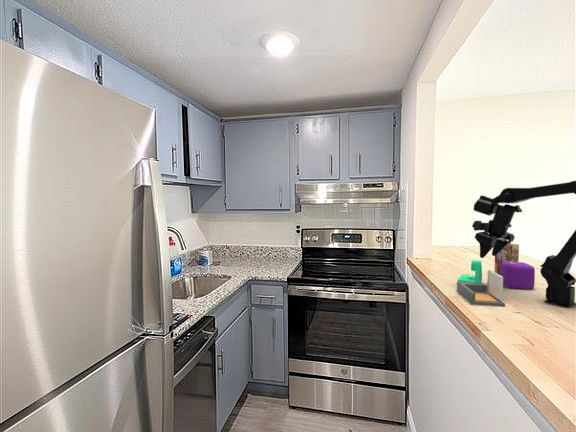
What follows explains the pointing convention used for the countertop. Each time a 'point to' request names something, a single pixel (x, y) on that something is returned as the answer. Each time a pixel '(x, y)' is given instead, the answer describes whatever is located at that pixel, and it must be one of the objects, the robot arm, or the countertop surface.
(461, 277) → the camera mount
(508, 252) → the candy box
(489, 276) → the door
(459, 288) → the camera case
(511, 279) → the toy camera
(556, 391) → the countertop surface
